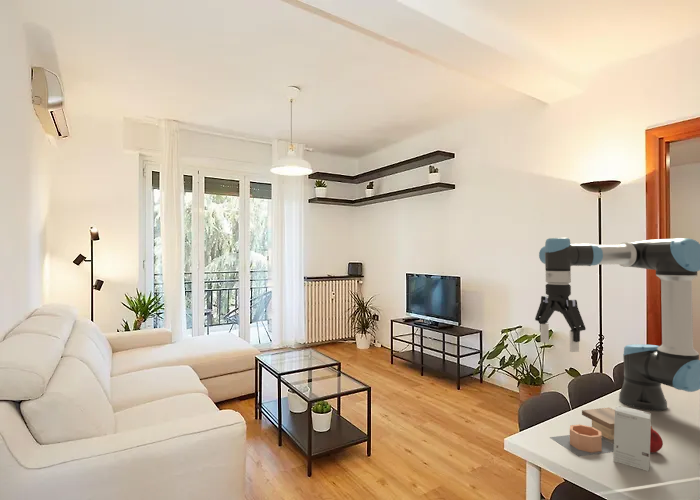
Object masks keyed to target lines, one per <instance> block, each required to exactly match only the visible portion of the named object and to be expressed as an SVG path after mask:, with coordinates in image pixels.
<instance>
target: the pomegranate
mask: <svg viewBox="0 0 700 500" xmlns="http://www.w3.org/2000/svg"><path fill="white" fill-rule="evenodd" d="M662 438H663V437H662V436H661V435H660V434H659V432H657V431H656V430H655V429H654V428H653V426H652V425H651V434H650V454H652V453H657V452H659V451H661V449H662V448H663V446H664V443H663V439H662Z"/></svg>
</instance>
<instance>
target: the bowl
mask: <svg viewBox="0 0 700 500" xmlns="http://www.w3.org/2000/svg"><path fill="white" fill-rule="evenodd" d="M569 435H570V445H572V446H574V447H575V448H577V449H578V450H583V451H587V452H591V453H593V452H601V451H602V438H603V436H602V435H601V431H599V430H597V429H595V428H593V427H592V426H590V425H585V424H580V423H579V424H574V425H573V424H571V425H570V427H569Z"/></svg>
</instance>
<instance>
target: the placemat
mask: <svg viewBox="0 0 700 500" xmlns="http://www.w3.org/2000/svg"><path fill="white" fill-rule="evenodd" d="M549 439H551V440H553V441H554V442H556V443H558V444H559V445H561V446H562V447H564V448H565V449H567V450H568V451H570V452H571V453H573V454H575V455H576V456H578V457H584V456H593V455H600V454H608V453H614V443H612V442H611V441H610V440H608V439H605V438H603V437H602V451H601V452H593V453H591V452H587V451H583V450H578V449H577V448H575V447H574V446H572V445H570V434H566V435H557V436H550V437H549Z"/></svg>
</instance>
